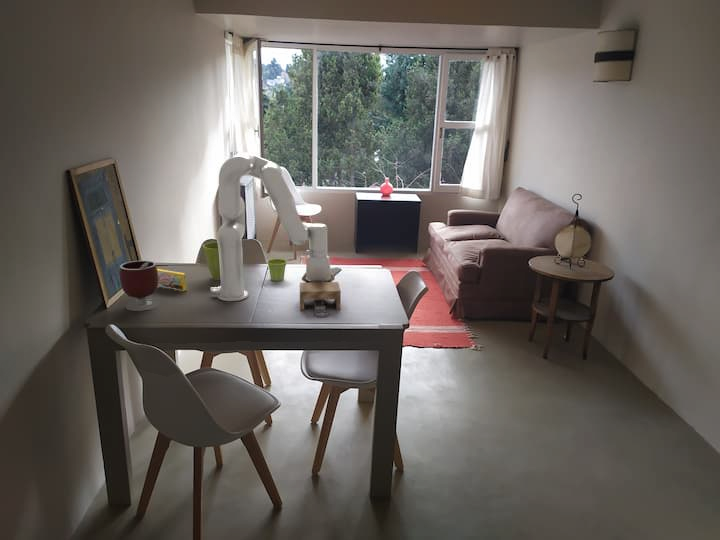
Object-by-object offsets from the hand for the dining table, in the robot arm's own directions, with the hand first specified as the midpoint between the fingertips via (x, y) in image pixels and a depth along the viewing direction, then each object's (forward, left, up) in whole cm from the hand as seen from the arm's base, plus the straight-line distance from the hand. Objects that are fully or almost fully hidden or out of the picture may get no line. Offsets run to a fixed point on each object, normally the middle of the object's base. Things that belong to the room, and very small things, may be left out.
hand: (318, 294), depth 230 cm
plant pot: (-18, +26, -1) cm, 32 cm away
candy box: (-64, +14, -1) cm, 65 cm away
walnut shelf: (0, -11, -1) cm, 11 cm away
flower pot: (-44, +29, -1) cm, 53 cm away
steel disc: (0, -22, -1) cm, 22 cm away
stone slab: (+5, +33, -2) cm, 33 cm away
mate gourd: (-70, -8, -1) cm, 70 cm away
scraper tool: (0, -9, -1) cm, 9 cm away
